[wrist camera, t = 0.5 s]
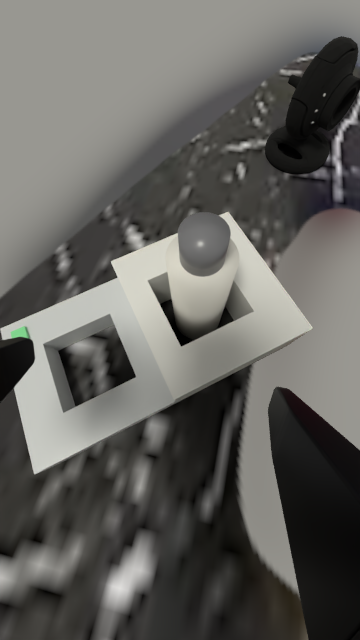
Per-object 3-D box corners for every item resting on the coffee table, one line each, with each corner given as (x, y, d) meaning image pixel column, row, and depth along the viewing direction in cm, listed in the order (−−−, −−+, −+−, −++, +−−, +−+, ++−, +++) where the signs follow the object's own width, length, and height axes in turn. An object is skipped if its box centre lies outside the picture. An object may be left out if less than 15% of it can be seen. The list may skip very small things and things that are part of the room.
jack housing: (286, 345, 22) (313, 328, 17) (53, 466, 19) (9, 484, 15) (221, 247, 26) (228, 211, 21) (19, 337, 23) (-24, 318, 19)
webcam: (298, 186, 29) (351, 77, 19) (250, 154, 31) (277, 41, 21) (339, 153, 30) (406, 37, 21) (291, 125, 32) (333, 8, 23)
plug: (227, 327, 23) (264, 247, 12) (187, 347, 22) (185, 283, 11) (206, 291, 24) (220, 189, 13) (167, 309, 24) (148, 218, 12)
